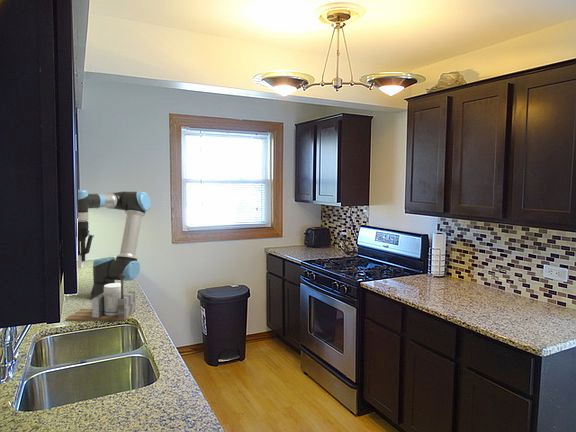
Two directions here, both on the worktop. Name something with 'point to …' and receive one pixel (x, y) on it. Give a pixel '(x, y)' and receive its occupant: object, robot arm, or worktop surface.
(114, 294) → the supplement tub
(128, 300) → the vise bed
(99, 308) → the front jaw
